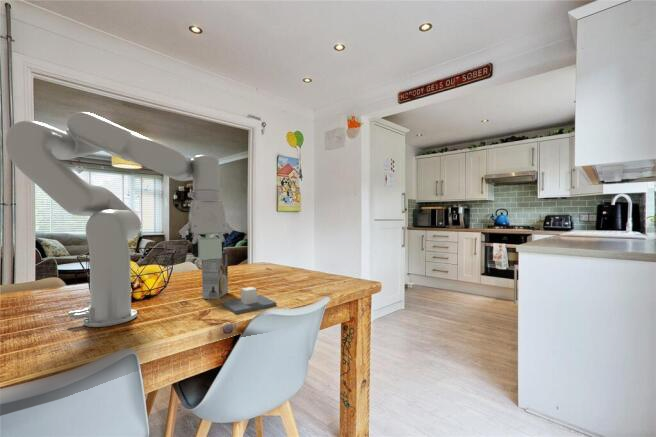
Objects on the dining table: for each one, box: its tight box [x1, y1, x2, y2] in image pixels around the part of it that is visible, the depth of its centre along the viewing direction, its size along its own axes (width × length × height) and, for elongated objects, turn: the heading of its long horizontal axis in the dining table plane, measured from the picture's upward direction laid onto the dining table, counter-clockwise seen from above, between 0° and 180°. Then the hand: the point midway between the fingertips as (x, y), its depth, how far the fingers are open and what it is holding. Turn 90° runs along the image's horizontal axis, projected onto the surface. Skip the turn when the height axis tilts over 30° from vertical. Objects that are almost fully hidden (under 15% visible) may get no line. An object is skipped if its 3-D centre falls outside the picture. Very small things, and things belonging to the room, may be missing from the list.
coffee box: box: [201, 250, 229, 300], centre depth 113 cm, size 9×6×16 cm
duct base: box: [221, 286, 277, 315], centre depth 101 cm, size 14×12×6 cm
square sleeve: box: [193, 236, 222, 261], centre depth 93 cm, size 6×6×6 cm
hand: (207, 255), depth 93 cm, fingers closed on square sleeve, 6 cm apart
